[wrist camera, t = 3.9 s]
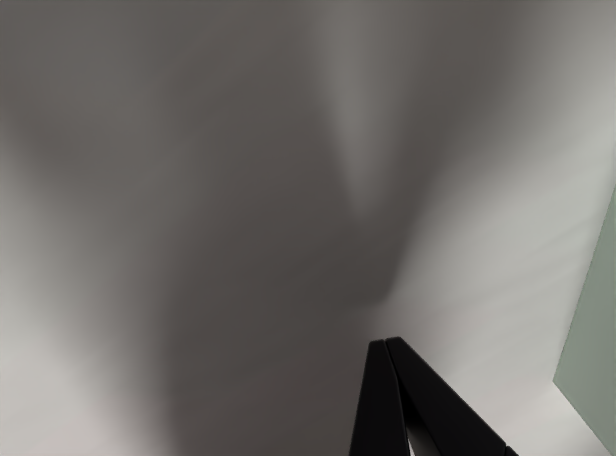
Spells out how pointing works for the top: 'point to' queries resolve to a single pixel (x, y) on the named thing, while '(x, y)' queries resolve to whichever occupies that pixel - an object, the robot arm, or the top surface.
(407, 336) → the top surface
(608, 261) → the carton
